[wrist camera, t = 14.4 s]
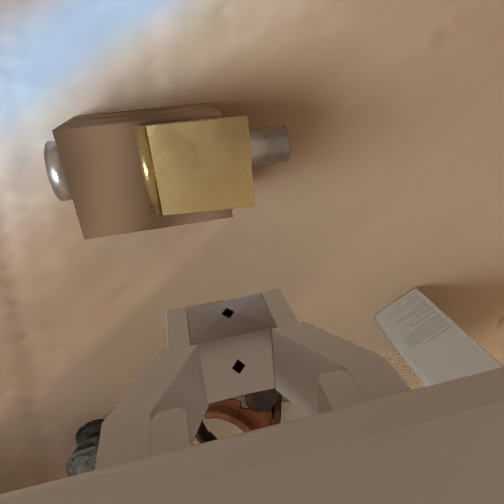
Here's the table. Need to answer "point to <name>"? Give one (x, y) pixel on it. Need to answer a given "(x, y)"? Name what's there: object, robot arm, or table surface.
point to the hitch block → (119, 170)
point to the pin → (261, 145)
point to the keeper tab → (196, 165)
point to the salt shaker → (85, 449)
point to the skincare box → (432, 340)
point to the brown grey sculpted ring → (244, 413)
